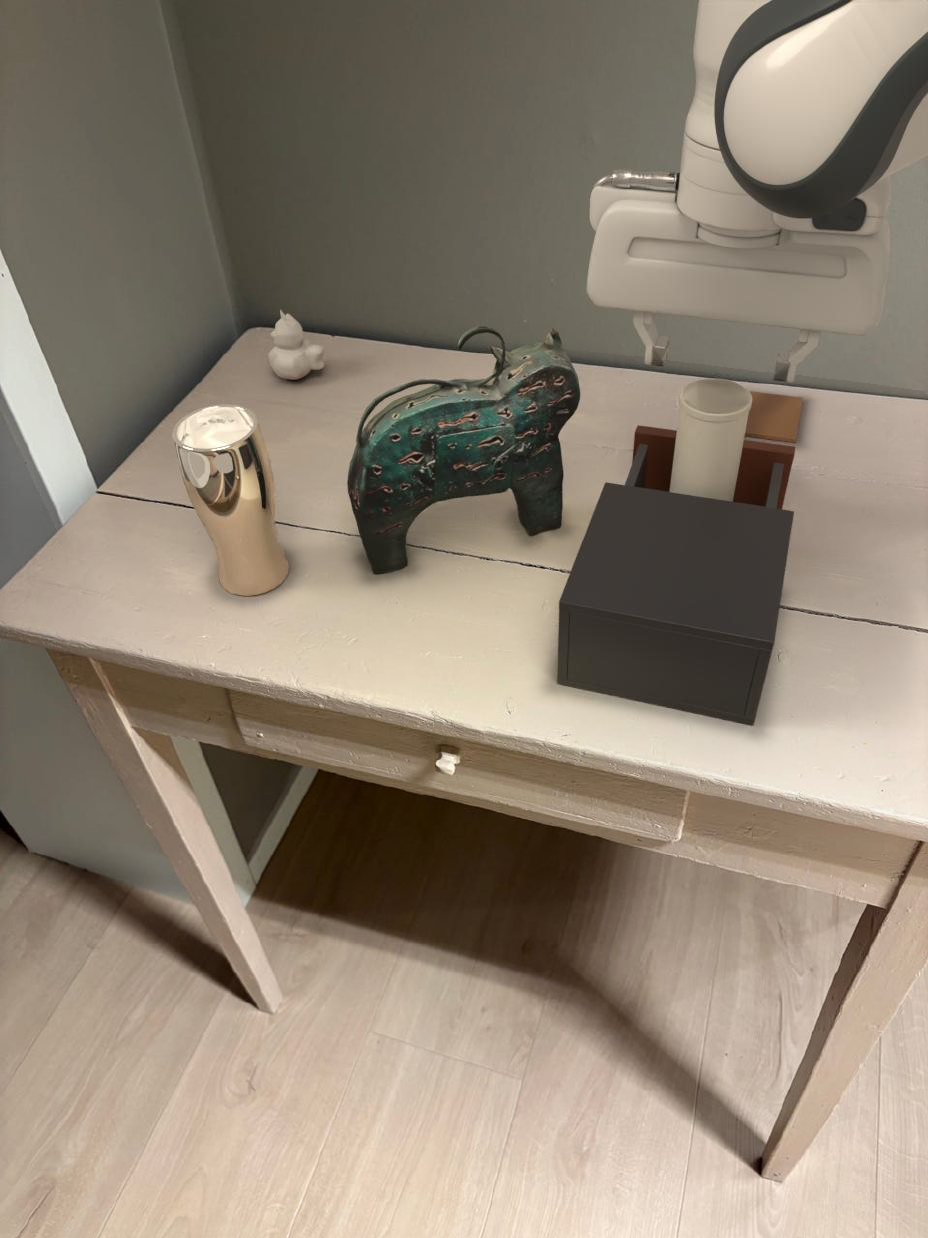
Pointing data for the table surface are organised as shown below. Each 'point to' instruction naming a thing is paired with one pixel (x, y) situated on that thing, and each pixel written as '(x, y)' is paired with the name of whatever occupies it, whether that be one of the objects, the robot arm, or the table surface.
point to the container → (710, 438)
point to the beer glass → (233, 494)
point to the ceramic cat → (465, 446)
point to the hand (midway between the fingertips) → (718, 370)
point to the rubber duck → (293, 350)
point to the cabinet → (675, 601)
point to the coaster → (774, 417)
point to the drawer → (757, 473)
